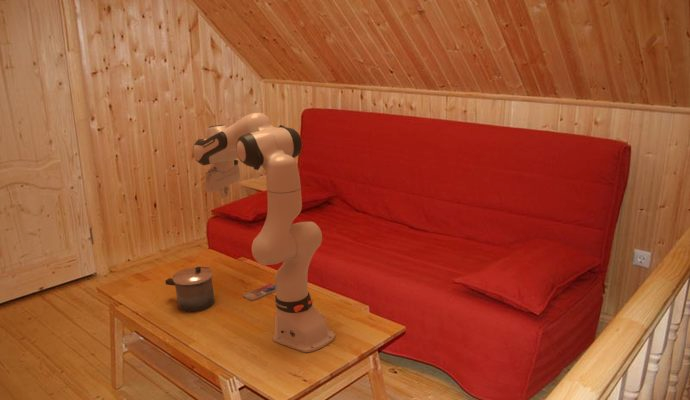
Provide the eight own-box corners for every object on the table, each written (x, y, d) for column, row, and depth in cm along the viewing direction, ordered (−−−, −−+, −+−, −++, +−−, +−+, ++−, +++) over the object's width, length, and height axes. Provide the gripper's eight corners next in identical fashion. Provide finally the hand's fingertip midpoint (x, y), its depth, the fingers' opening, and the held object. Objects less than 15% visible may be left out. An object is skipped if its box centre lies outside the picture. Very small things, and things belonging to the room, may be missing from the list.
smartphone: (241, 295, 226) (271, 282, 236) (241, 297, 226) (271, 284, 236) (251, 300, 221) (281, 287, 230) (252, 302, 221) (282, 289, 231)
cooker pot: (181, 291, 233) (177, 267, 229) (221, 298, 225) (218, 273, 222) (158, 307, 220) (154, 281, 217) (200, 314, 213) (196, 288, 210)
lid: (190, 267, 228) (189, 261, 228) (221, 272, 223) (220, 265, 222) (164, 282, 214) (163, 275, 214) (196, 287, 209) (196, 280, 208)
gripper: (212, 171, 217) (216, 205, 221) (241, 159, 235) (244, 190, 239) (198, 170, 219) (203, 203, 223) (228, 158, 237) (232, 189, 241)
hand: (224, 197), depth 231 cm, fingers closed
